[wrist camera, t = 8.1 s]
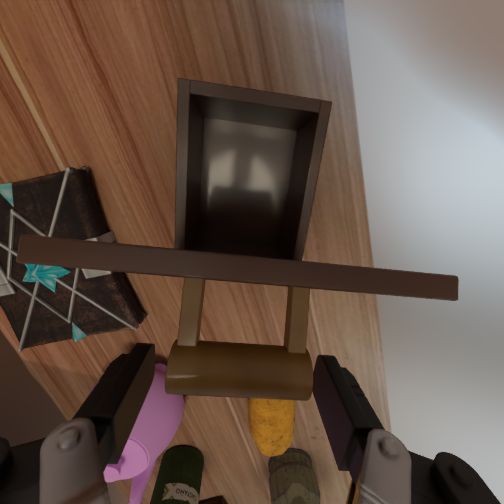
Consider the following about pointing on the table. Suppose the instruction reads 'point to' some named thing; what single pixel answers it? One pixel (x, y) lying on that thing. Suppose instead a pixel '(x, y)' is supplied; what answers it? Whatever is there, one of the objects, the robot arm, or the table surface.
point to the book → (58, 278)
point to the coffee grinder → (214, 501)
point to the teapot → (148, 436)
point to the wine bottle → (179, 477)
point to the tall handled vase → (293, 479)
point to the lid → (246, 271)
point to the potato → (271, 424)
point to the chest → (246, 169)
